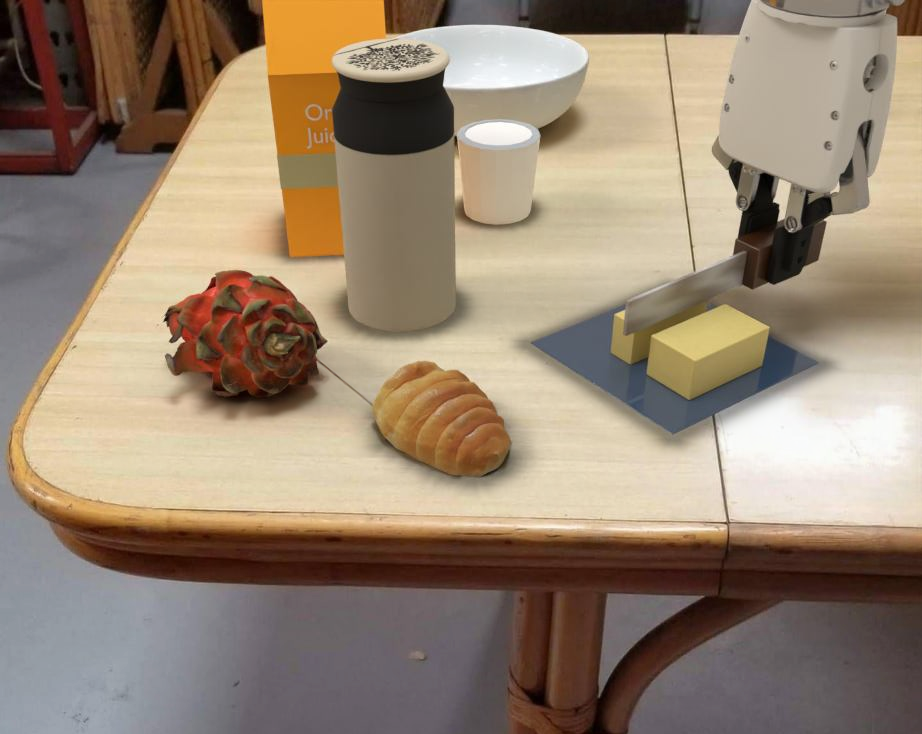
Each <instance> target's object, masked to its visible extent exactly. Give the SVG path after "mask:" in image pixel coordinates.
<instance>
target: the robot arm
mask: <svg viewBox="0 0 922 734" xmlns="http://www.w3.org/2000/svg"><path fill="white" fill-rule="evenodd" d="M905 1H906V0H751V1H750V3H749V6H748V9H747V10H746V13H745V16H744V19H743V22H742V25H741V28H740V30H739V33H738V38H737V41H736V44H735V48H734V51H733V54H732V59H731V63H730V66H729V70H728V75H727V79H726V84H725V88H724V93H723V98H722V104H721V110H720V117H719V126H718V135H717V137H716V138H715V140H714V142H713V144H712V145H711V153H712V155H713V157H714V158H715V160H717V161H718V163H719V164H720V165H721V166H722V167H723V168H724V170H726V171H728V176H729V178H730V181H731V182H732V185H733V188H734V189H735V192H736V197H735V205H736V208H737V209H738V210H739V211H741V216H740V223H739V226H738V227H739V228H738V234H737V238H739V237H741V236H744V235H746V234H749V233H752V232H754V231H756V230H759V229H761V228H764V227H766V226H769V225H771V224H773V223H776V222H778V221H779V217H780V211H781V210H780V205H781V204H780V203H779V202H775V201H774V200H775V198H776V197H777V191H778V187H779V182H780V180H782V181H785V182H787V183H789V184H790V187H789V193H788V199H787V204H786V209H785V215H784V218H783V219H784V226H782V227H779V228H777V229H776V230H775V232H774V237H773V242H772V250H771V255H770V260H769V265H768V270H767V275H766V281H767V282H768V283H767V284H770V285H772V286H775V285H777V284H780V283H783V282H785V281H787V280H789V279H792V278H794V277H797V276H798V275H799V276H800V274H801V273H802V271H803V269H804V268H805V267H806V266H805V264H806V260H807V256H808V251H809V247H810V242H811V238H812V234H813V229H814V225H815V224H817V223H820V222H822V221H823V220H824V221H825V219H827V218H829V217H831V216H839V215H848V214H849V215H850V214H855V213H857V212H859V211H862V210H865V209H867V208H868V207H869V205H870V203H871V199H870V190H869V189H870V187H869V180H868V179H869V178H870V177H872V176H873V175H874V173H875V171H876V169H877V166H878V164H879V160H880V156H881V151H882V147H883V142H884V139H885V133H886V129H887V124H888V119H889V115H890V114H889V112H890V108H891V102H892V96H893V88H894V81H895V73H896V64H897V53H898V52H897V50H898V17H896V16H894V15H892V14H889V13H887V10H888V9H889V8H890V5H892V6H896V7H898V6H899V7H900V6H901V5H902V4H904V2H905ZM838 184H839V185H838ZM837 186H839V190H838V191H834V190H835V189H836V187H837ZM832 191H834V192H832ZM804 266H805V267H804Z"/></svg>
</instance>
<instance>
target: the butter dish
mask: <svg viewBox="0 0 922 734" xmlns="http://www.w3.org/2000/svg"><path fill="white" fill-rule="evenodd" d="M625 307H626V303H624V304H622V305H619V306H616V307H614V308H612V309H610V310H609V309H608V310H606V311H605V312H602V313H599V314H597V315H594V316H591V317H589V318H587V319H585V320H582V321H580V322H576V323H574V324H572V325H569V326H567V327H565V328H562V329H559V330H557V331H554V332H552V333H549V334H547V335H545V336H542V337H539V338H537V339H534V340H532V341H530V342H529V344H531V345H532V346H534V347H536V348H537V349H539V350H540V351H542V352H544V353H545V354H546V355H548V356H550V357H551V358H553V359H554V360H556V361H557V362H559V363H560V364H562V365H564V366H565V367H567V368H568V369H569V370H571V371H572V372H575V373H576V374H577V375H579V376H581V377H582V378H584V379H585V380H587V381H588V382H590V383H591V384H593V385H594V386H596V387H597V388H599V389H601V390H602V391H604V392H605V393H607V394H609V395H610V396H611V397H613V398H615V399H617V400H618V401H619V402H621V403H623V404H624V405H625V406H627V407H629V408H630V409H631V410H633V411H635V412H637V413H638V414H639V415H641V416H643V417H644V418H646V419H647V420H649V421H650V422H652V423H654V424H655V425H657V426H658V427H659V428H661V429H663V430H664V431H666V432H667V433H669V434H671V435H672V436H673V435H675V434H677V433H679V432H681V431H683V430H685V429H687V428H689V427H691V426H693V425H696V424H698V423H700V422H702V421H704V420H706V419H708V418H710V417H712V416H714V415H716V414H718V413H720V412H722V411H724V410H726V409H728V408H730V407H732V406H735V405H736V404H739V403H741V402H743V401H744V400H747V399H749V398H750V397H751V398H752V397H753V396H755V395H757V394H759V393H761V392H763V391H765V390H767V389H770V388H771V387H773V386H775V385H777V384H779V383H782V382H783V381H786V380H787V379H790V378H792V377H794V376H796V375H798V374H800V373H802V372H803V371H806V370H808V369H811V368H812V367H814V366H816V365H818V364H820V362H819V361H817V360H816V359H814V358H812V357H810V356H808V355H807V354H804V353H802V352H800V351H799V350H797V349H795V348H794V347H791V346H789V345H788V344H785V343H783V342H782V341H780V340H778V339H776V338H774V337H773V336H770V335H768V339H767V344H766V349H765V354H764V358H763V363H762V366H761V367H759V368H756V369H754V370H752V371H750V372H748V373H746V374H744V375H742V376H740V377H737V378H735V379H733V380H731V381H729V382H727V383H725V384H723V385H721V386H719V387H716V388H714V389H712V390H710V391H708V392H706V393H704V394H702V395H700V396H697V397H695V398H693V399H691V400H688V399H686V398H684V397H683V396H681V395H680V394H678V393H676V392H675V391H673V390H671V389H670V388H668V387H666V386H665V385H663V384H662V383H660V382H658V381H657V380H655V379H653V378H652V377H650V376H648V375H647V366H648V358H649V357H647V358H645V359H643V360H640V361H638V362H636V363H633V364H631V365H630V364H628V363H627V362H625V361H623V360H622V359H620V358H618V357H617V356H615V355H614V354H612V353H611V345H612V334H613V324H614V314H616V313H619V312H621V311H624V310H625ZM715 308H716V307H715V306H713V305H711V304H709V303H707V309H706V312H708V311H710V310H712V309H715Z"/></svg>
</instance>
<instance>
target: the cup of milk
mask: <svg viewBox="0 0 922 734" xmlns="http://www.w3.org/2000/svg"><path fill="white" fill-rule="evenodd" d="M456 139H457V148H458V159H459V168H460V177H461V178H460V179H461V190H462V198H463V209H464V213H465V216H466V217H468V218H469V219H470V220H472V221H475V222H478V223H481V224H486V225H497V226H498V225H510V224H514V223H518V222H521V221H522V220H525V219H526V218H528V217H529V215H530V213H531V211H532V203H533V196H534V188H535V181H536V173H537V166H538V158H539V151H540V150H539V149H540V142H541V133H540V131H539V128H538V129H536V128H535V127H533V126H531V125H530V124H527V123H523V122H519V121H514V120H503V119H497V120H483V121H478V122H473V123H470V124H468V125H466V126H464V127H462V128H461V129H460V130H459V131H458V133H457V136H456Z"/></svg>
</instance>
